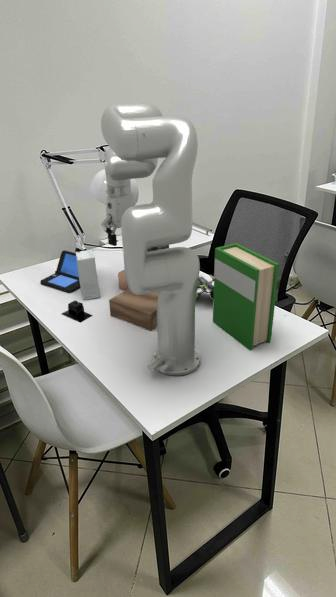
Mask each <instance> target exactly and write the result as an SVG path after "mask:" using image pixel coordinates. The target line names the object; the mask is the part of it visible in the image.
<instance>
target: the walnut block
mask: <svg viewBox="0 0 336 597" xmlns="http://www.w3.org/2000/svg"><path fill="white" fill-rule="evenodd" d="M160 292H161V291H160ZM160 292H155V293H150V294H144V295H136V294H133V293H132V292H131V291H130V290H129V289H127V290H125V291H122V292H121V293H119V294H117V295H115V296H113V297H111V298H110V299H109V300H108V303H109V304H108V305H109V312H110V313H109V314H110V317H111V318H115V319H118V320H120V321H124V322H125V321H126V323H128V324H132V325H134V326H137V327H140V328H142V329H144V330H148V331H149V332H151V331H153V330H154V329H157V300H158V297H159V294H160Z"/></svg>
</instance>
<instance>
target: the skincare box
mask: <svg viewBox="0 0 336 597" xmlns="http://www.w3.org/2000/svg"><path fill="white" fill-rule="evenodd" d="M75 253H76V259H77V267H78V274H79V281H80V287H81V288H80V291H81V295H82V298H83V301H86V300H94V299H100V298H101V295H100V294H101V293H100V288H99V279H98V278H99V277H98V272H97V266H96V258H95V254H94V252H93V250H92V249H88V250H86V249H85V250H81V251H75Z"/></svg>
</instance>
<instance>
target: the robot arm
mask: <svg viewBox="0 0 336 597" xmlns="http://www.w3.org/2000/svg"><path fill="white" fill-rule="evenodd" d="M100 128H101V134H102V136H103V139H104V141H105V143H106V144H107V146H108V147H109V148H110V149H108V150H107V149H106V151H105V152H104V172H105V177H106V178H105V179H106V191H105V192H106V194H107V196H106V204H105V205H106V206H105V213H106V215H105V216H106V217H105V219H104V220H103V221H102V222H101V226H102V229H103V231H104V232H105V233H106V234H107V240H108V241H107V242H108V244H109V245H110V246H114V247H117V246H118V244H117V243H118V241H117V239H118V238H117V234H116V231H117V229H121V240H122V243H121V244H122V254H123V255H122V256H123V265H124V267H123V268H124V270H125V277H126V282H127V286H128V288H129V290H130V291H131V292H132V293H133V294H136V295H144V294H150V293H155V292H160V291H161V292H160V294H159V297H158V300H157V327H156V331H157V334H156V335H157V350H156V351H155V352H154V353H153V356H152V362H150V364H148V365H147V370H148V371H150V372H151V373H153V372H154V371H156V370H157V371H158V372H159V373H162V374H164V375H168V376H177V377H178V376H185V375H188V374H191V373H193V372H195V371H196V370H197V369H198V368H199V366H200V364H201V355H200V353H199V352H198V350H196V349H195V347H196V345H195V342H196V341H195V339H196V334H195V333H196V301H195V296H197V295H196V287H197V282H198V277H199V276H200V272H201V271H200V270H201V269H200V268H201V265H200V258H199V256H198V254H197V253H196V251H195V250H194V249H192V248H189V247H185V246H175V247H169V248H167V249H161V250H157V251H150V252H147V250H148V249H149V248H152V247H158V246H164V245H169V246H170V245H175V244H181V243H183V242H185V241H188V240H189V239H190V238H191V235H192V231H193V187H192V186H193V185H192V184H193V175H194V169H195V166H196V162H197V156H198V146H199V145H198V144H199V143H198V141H199V140H198V135H197V130H196V128H195V125H194V123H192V121H191V120H189V119H188V118H186V117H183V116H177V115H163V113H162V111H161V110H160V108H158V106H156V105H154V104H152V103H149V102H148V103H147V102H145V103H144V102H137V103H135V102H134V103H118V104H117V103H116V104H110V105H108V106H106V108H105V109H104V111H103V113H102V114H101V119H100ZM159 159H163V161H162V162H161V164H160V165H159V166H158V162H159ZM157 166H158V168H157ZM156 168H157V169H156ZM155 170H156V171H155ZM154 172H155V174H154V176H153V178H152V202H151V203H144V204H143V203H142V204H137V205H136V200H135V198H134V197H135V196H134V194H133V191H132V183H131V180H135V179H143V178H145V179H146V178H148V177H150V176H151V175H153V173H154Z"/></svg>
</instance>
